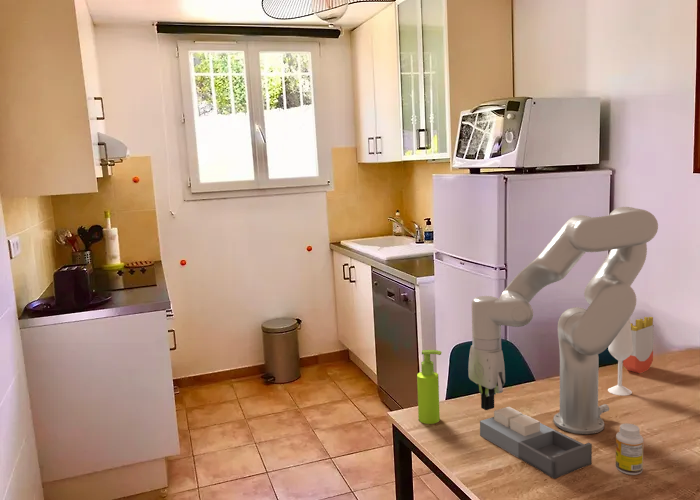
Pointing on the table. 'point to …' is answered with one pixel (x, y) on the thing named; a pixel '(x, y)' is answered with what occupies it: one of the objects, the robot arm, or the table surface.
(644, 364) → the french fries container
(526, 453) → the box
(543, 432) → the grey box sleeve
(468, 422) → the table surface
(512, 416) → the rear tile
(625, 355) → the champagne flute
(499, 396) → the table surface
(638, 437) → the supplement bottle
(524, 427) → the front tile
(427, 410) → the soap dispenser
